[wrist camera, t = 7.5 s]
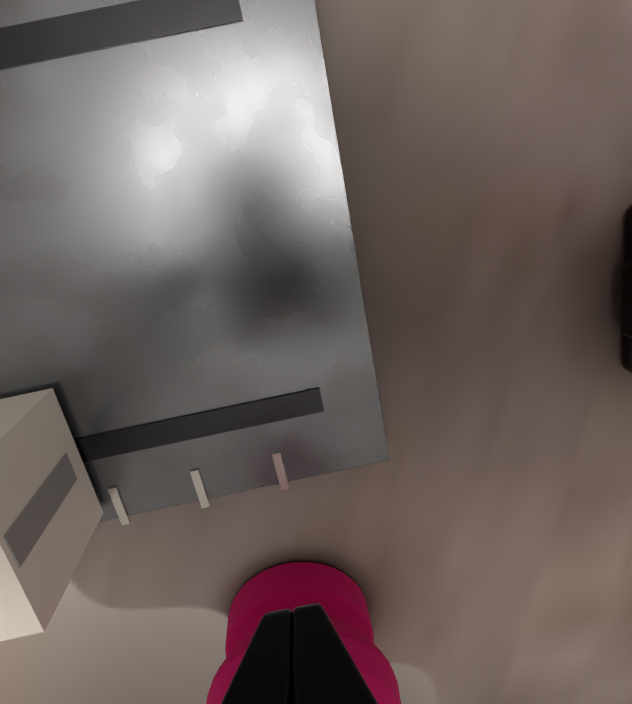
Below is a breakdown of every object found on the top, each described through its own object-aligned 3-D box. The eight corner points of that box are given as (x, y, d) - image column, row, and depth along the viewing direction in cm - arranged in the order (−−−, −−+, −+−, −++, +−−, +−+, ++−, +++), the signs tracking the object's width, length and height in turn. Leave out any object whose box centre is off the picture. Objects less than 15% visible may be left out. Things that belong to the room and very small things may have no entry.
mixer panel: (276, -186, 14) (276, -230, 12) (382, 446, 20) (391, 468, 19) (-356, -62, 13) (-435, -92, 12) (-37, 535, 20) (-62, 564, 18)
